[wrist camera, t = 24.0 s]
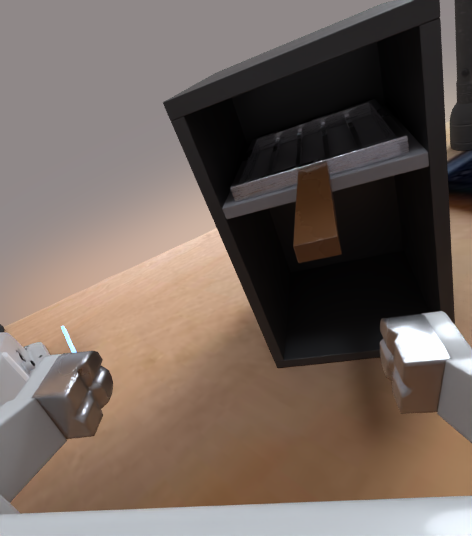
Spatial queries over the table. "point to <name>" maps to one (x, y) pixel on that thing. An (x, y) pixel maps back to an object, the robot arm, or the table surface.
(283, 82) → the black grill cabinet
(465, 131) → the flashlight
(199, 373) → the table surface
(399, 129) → the rack
